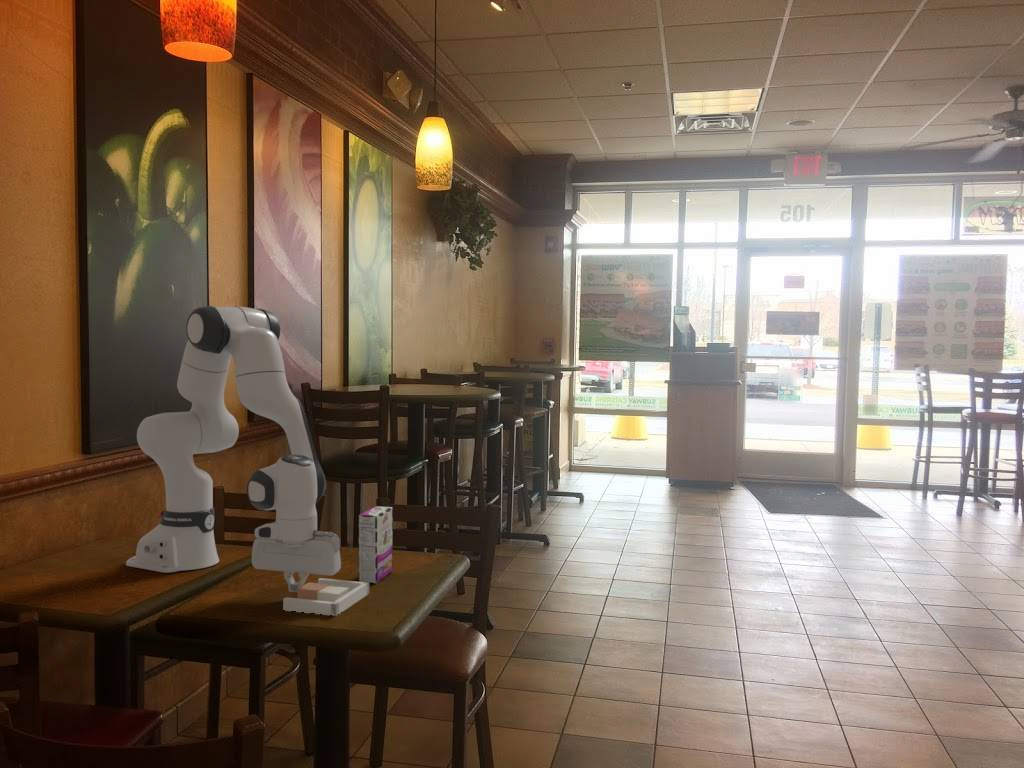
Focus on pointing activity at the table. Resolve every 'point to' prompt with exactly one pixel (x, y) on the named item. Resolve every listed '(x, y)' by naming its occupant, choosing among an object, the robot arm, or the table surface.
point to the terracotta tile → (310, 590)
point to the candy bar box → (375, 544)
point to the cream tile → (331, 593)
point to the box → (324, 607)
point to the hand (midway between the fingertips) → (296, 591)
